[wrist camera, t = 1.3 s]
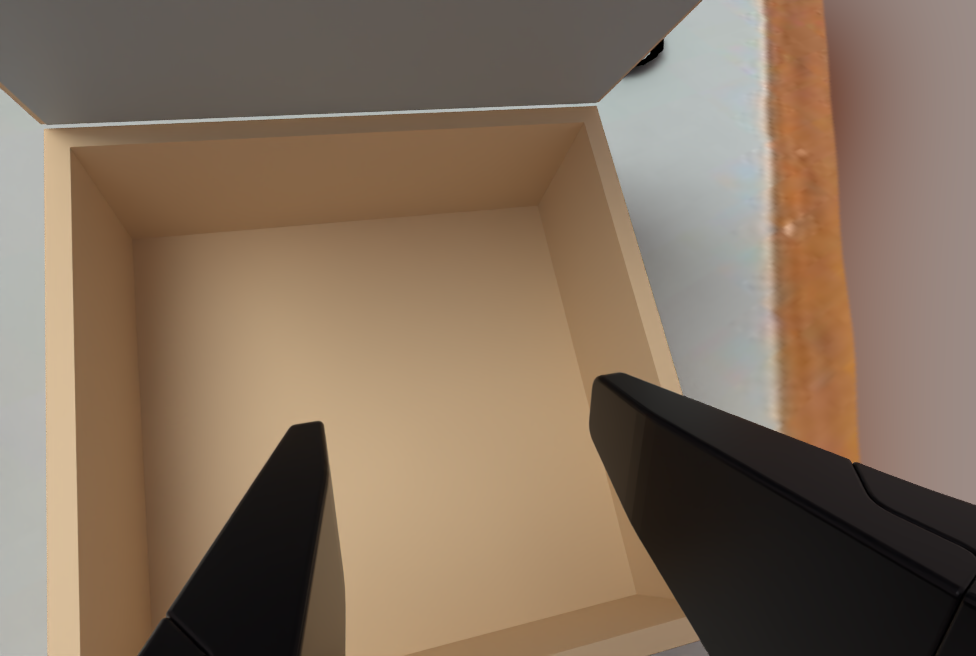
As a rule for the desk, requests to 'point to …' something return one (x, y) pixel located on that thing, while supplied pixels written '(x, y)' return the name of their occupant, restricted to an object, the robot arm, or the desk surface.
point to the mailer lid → (317, 55)
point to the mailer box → (351, 371)
